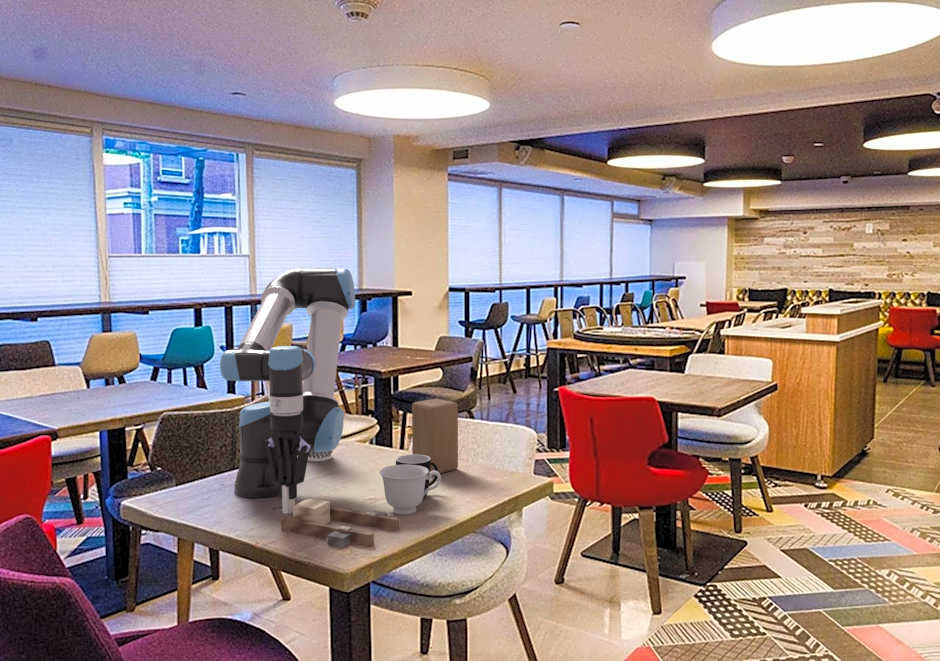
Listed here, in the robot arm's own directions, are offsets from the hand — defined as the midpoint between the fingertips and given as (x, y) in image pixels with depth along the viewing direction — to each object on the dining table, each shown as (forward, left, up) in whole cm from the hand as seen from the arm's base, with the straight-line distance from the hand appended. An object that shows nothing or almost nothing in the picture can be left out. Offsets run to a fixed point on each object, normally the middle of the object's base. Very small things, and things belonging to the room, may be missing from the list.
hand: (288, 511), depth 179 cm
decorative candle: (-29, +49, -2) cm, 57 cm away
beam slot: (+14, 0, -2) cm, 15 cm away
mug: (+18, +29, -2) cm, 35 cm away
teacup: (+22, +18, -2) cm, 29 cm away
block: (+10, +53, -2) cm, 54 cm away
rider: (+6, 0, -2) cm, 7 cm away
